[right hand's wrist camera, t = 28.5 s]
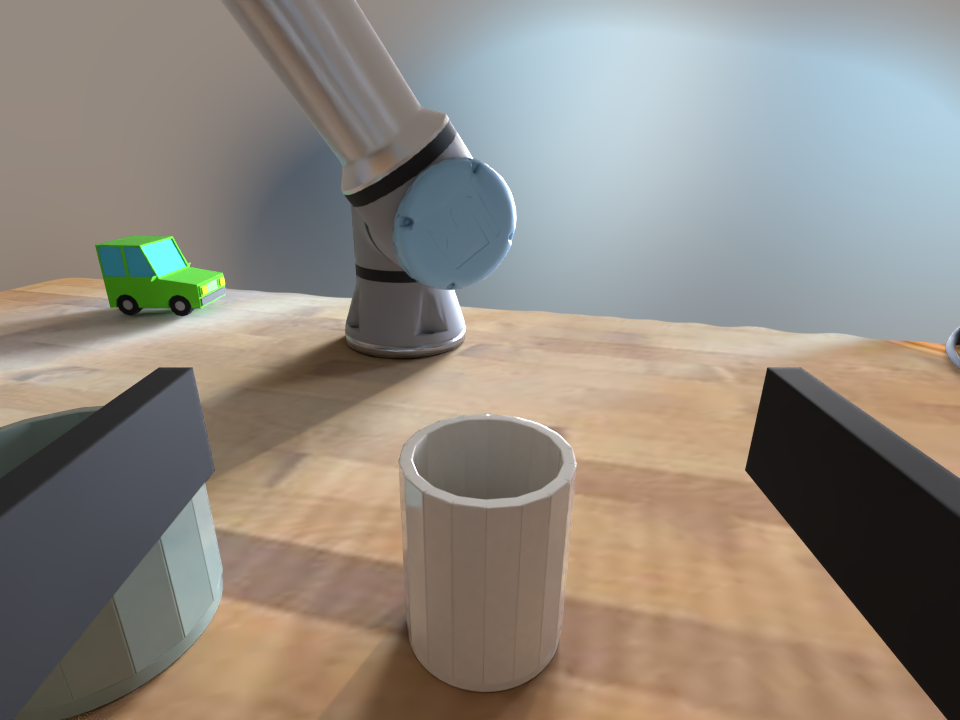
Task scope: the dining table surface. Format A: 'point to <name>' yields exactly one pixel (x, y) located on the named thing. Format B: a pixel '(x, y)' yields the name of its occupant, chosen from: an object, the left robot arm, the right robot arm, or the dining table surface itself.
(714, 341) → the dining table surface
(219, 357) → the dining table surface
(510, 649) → the cup
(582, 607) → the dining table surface
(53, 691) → the pot
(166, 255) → the toy car
